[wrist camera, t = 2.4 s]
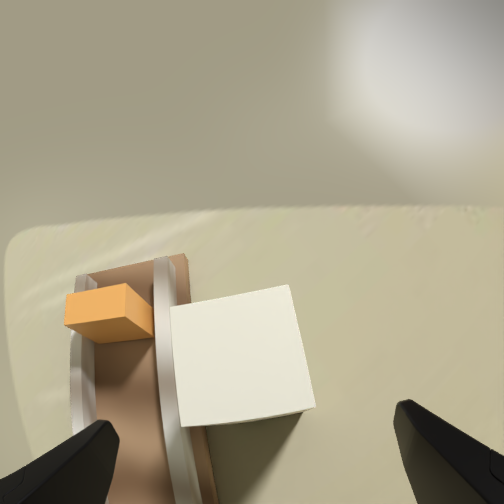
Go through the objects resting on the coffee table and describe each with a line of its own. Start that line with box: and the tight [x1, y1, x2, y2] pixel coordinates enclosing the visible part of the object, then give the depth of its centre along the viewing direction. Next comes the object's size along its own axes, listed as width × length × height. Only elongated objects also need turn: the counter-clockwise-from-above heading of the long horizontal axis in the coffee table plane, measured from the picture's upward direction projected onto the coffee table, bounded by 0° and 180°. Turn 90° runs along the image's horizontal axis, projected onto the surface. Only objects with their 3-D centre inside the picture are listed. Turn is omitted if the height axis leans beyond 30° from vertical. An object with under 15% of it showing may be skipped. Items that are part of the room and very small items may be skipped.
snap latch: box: [64, 283, 155, 344], centre depth 17 cm, size 2×4×4 cm, turn 99°
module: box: [170, 284, 316, 427], centre depth 13 cm, size 4×4×10 cm
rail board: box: [70, 253, 219, 504], centre depth 17 cm, size 20×9×3 cm, turn 9°
